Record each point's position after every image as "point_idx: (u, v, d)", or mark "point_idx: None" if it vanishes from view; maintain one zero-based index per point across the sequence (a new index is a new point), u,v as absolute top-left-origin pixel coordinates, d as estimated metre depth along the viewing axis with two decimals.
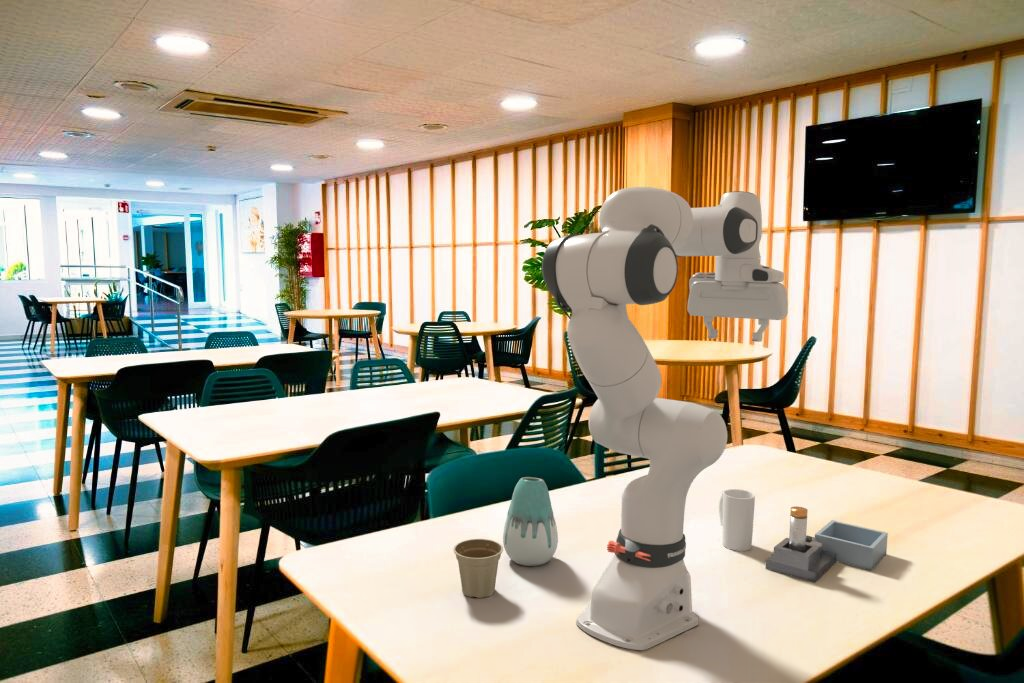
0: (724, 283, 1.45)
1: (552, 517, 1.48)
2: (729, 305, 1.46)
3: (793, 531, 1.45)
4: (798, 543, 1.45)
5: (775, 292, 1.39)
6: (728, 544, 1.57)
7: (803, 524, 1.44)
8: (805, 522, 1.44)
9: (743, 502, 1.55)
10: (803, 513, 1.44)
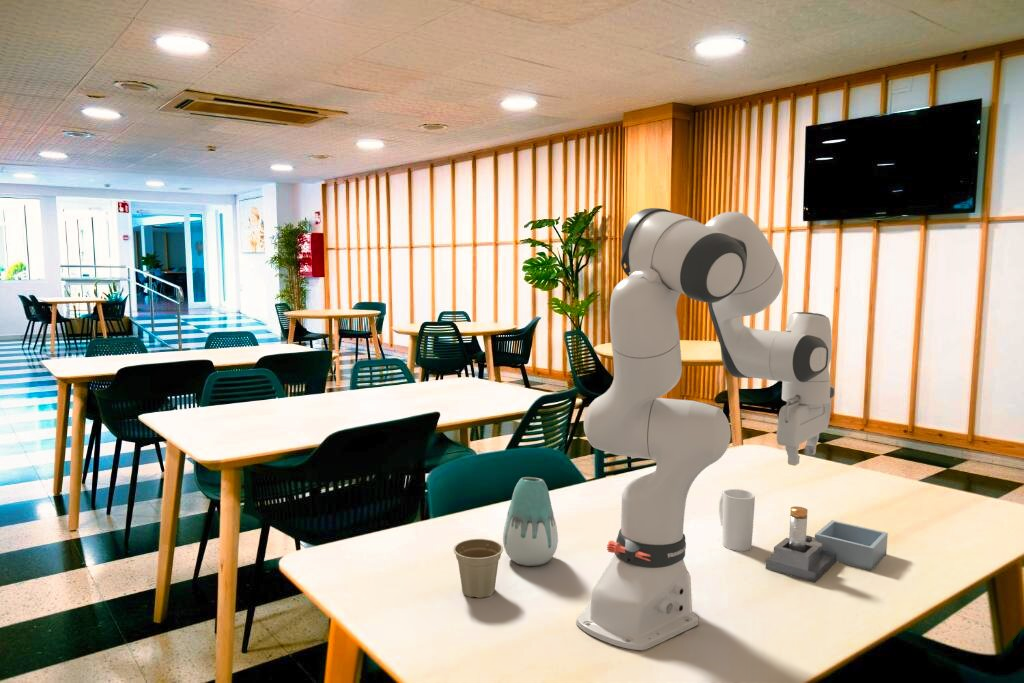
0: (816, 406, 1.40)
1: (552, 517, 1.48)
2: (811, 427, 1.42)
3: (793, 531, 1.45)
4: (798, 543, 1.45)
5: (830, 405, 1.48)
6: (728, 544, 1.57)
7: (803, 524, 1.44)
8: (805, 522, 1.44)
9: (743, 502, 1.55)
10: (803, 513, 1.44)
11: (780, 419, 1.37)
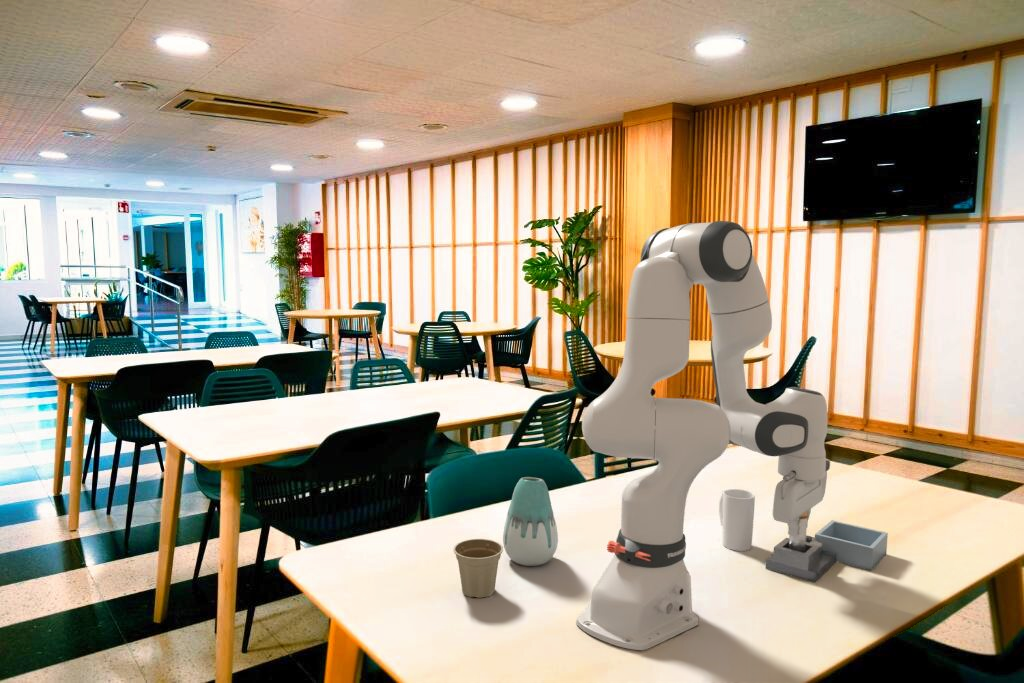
0: (811, 481, 1.42)
1: (552, 517, 1.48)
2: (807, 501, 1.43)
3: None
4: (798, 543, 1.45)
5: (826, 477, 1.50)
6: (728, 544, 1.57)
7: (803, 524, 1.44)
8: (805, 522, 1.44)
9: (743, 502, 1.55)
10: None
11: (776, 495, 1.38)
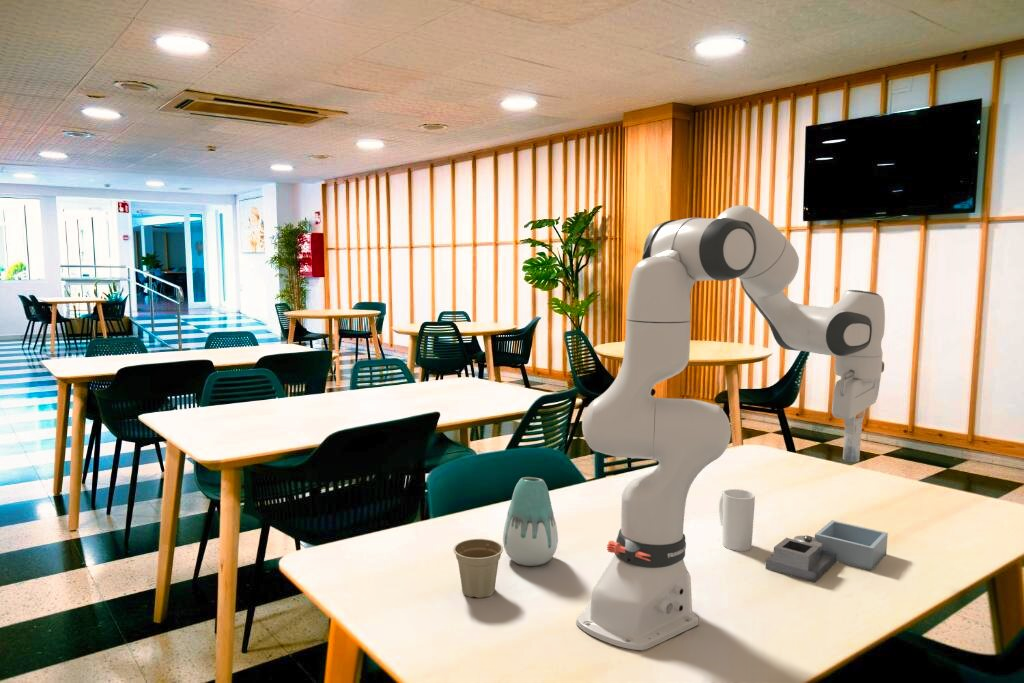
0: (869, 380, 1.47)
1: (552, 517, 1.48)
2: (863, 400, 1.48)
3: None
4: (853, 442, 1.50)
5: None
6: (728, 544, 1.57)
7: (859, 423, 1.49)
8: (861, 421, 1.50)
9: (743, 502, 1.55)
10: None
11: (836, 393, 1.43)
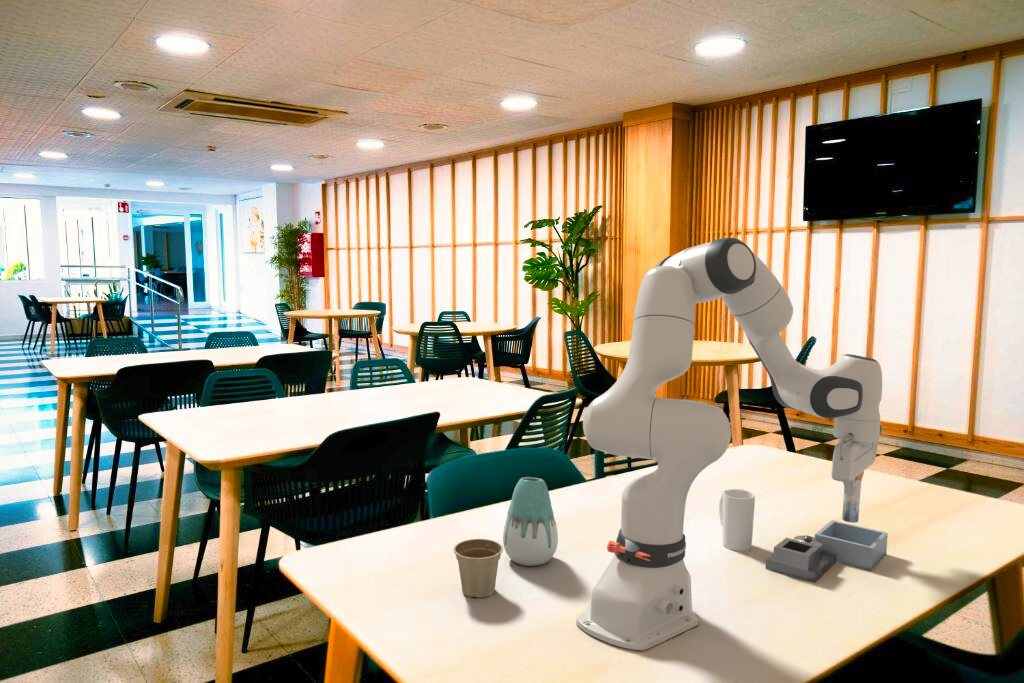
0: (867, 443, 1.50)
1: (552, 517, 1.48)
2: (862, 462, 1.51)
3: None
4: (852, 503, 1.53)
5: None
6: (728, 544, 1.57)
7: (858, 485, 1.52)
8: (860, 483, 1.52)
9: (743, 502, 1.55)
10: None
11: (835, 456, 1.46)
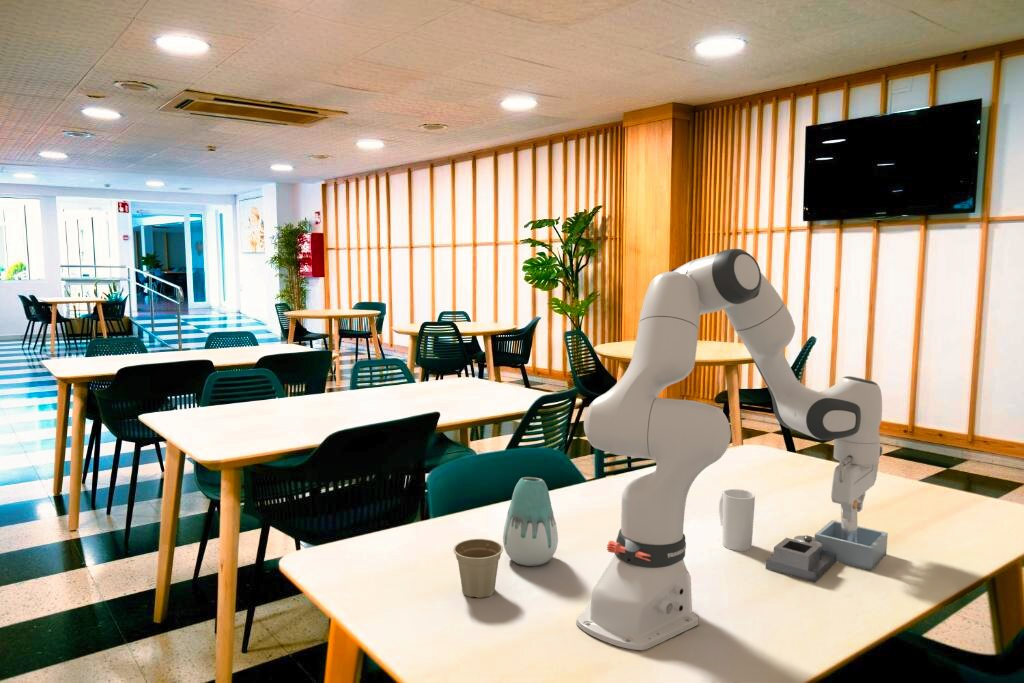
0: (867, 465, 1.50)
1: (552, 517, 1.48)
2: (862, 484, 1.51)
3: (845, 521, 1.54)
4: (850, 533, 1.53)
5: (878, 462, 1.58)
6: (728, 544, 1.57)
7: (854, 514, 1.53)
8: (856, 512, 1.53)
9: (743, 502, 1.55)
10: (853, 503, 1.53)
11: (835, 479, 1.46)
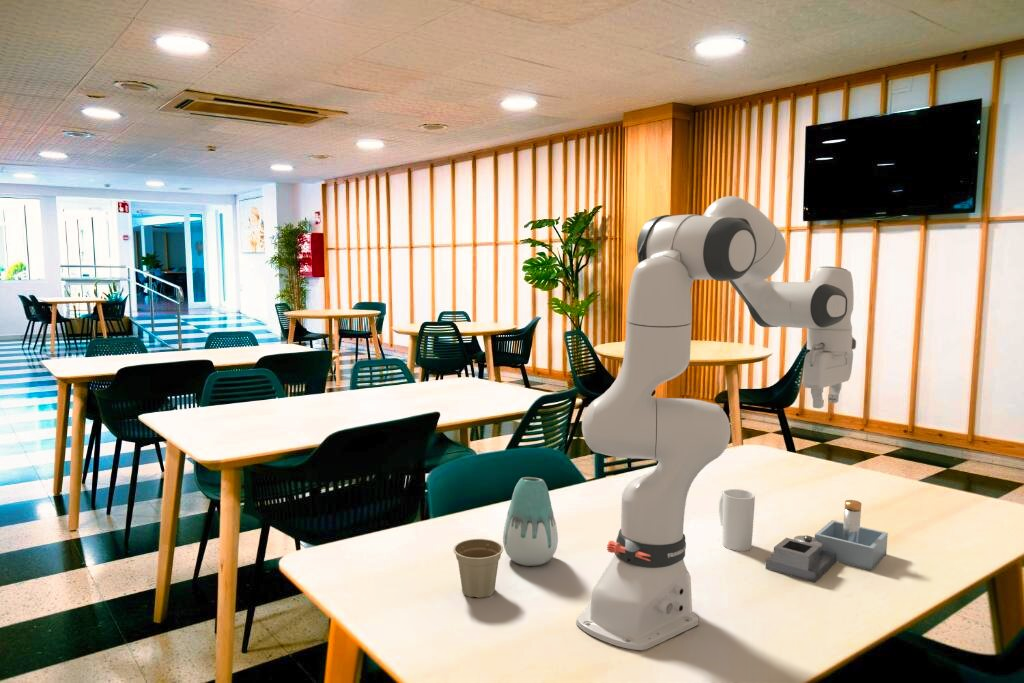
0: (839, 353, 1.51)
1: (552, 517, 1.48)
2: (834, 373, 1.53)
3: (848, 523, 1.53)
4: (852, 535, 1.53)
5: (852, 357, 1.59)
6: (728, 544, 1.57)
7: (858, 517, 1.52)
8: (859, 515, 1.52)
9: (743, 502, 1.55)
10: (858, 506, 1.52)
11: (806, 363, 1.48)
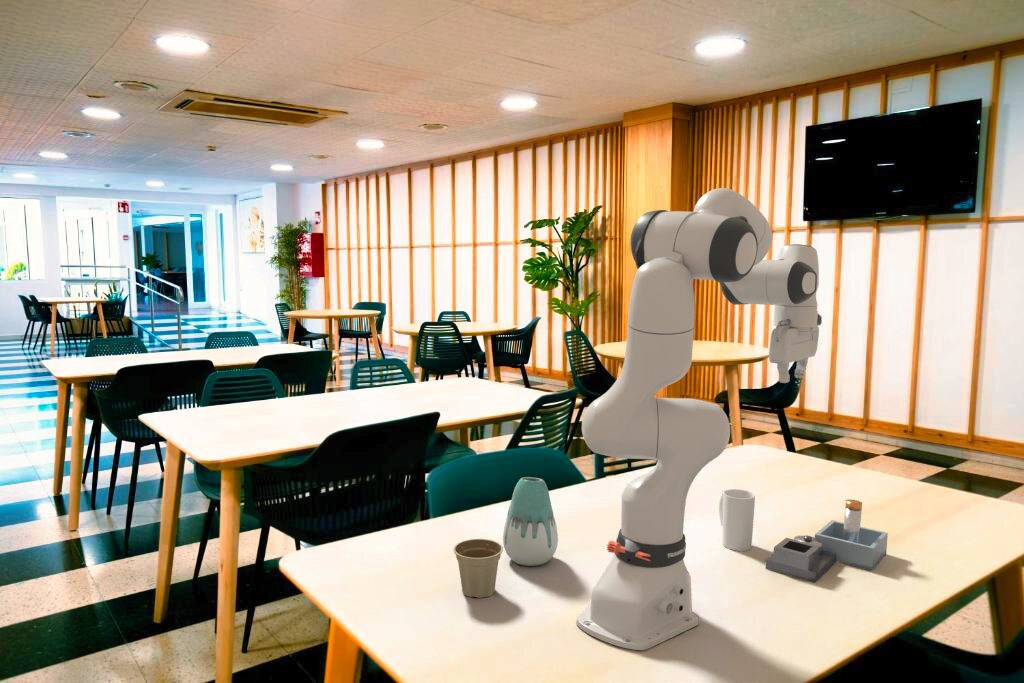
0: (804, 329, 1.55)
1: (552, 517, 1.48)
2: (800, 349, 1.57)
3: (848, 522, 1.53)
4: (852, 534, 1.53)
5: (818, 333, 1.63)
6: (728, 544, 1.57)
7: (858, 516, 1.52)
8: (860, 514, 1.53)
9: (743, 502, 1.55)
10: (858, 505, 1.52)
11: (772, 339, 1.52)
